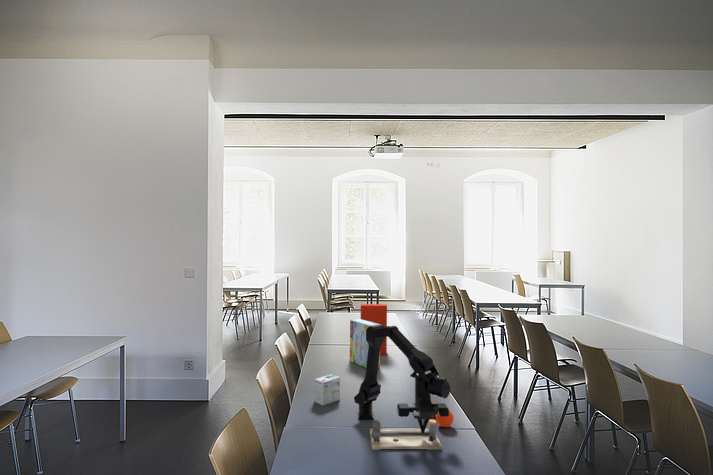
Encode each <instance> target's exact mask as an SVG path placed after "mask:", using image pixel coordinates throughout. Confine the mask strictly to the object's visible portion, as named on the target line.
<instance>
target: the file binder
mask: <svg viewBox="0 0 713 475" xmlns="http://www.w3.org/2000/svg"><path fill="white" fill-rule="evenodd" d="M360 319H362V320H366V321H369V322H373V323H377V324H381V325H383V326H388V305H387V304H381V303H376V304H375V303H361V304H360ZM387 340H388V337H385V341H384V342H383V344H382V345H381V347H380V356H381V355H386V356H387V355H388V354H387V347H388V343H387V342H388V341H387Z"/></svg>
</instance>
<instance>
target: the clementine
mask: <svg viewBox="0 0 713 475" xmlns="http://www.w3.org/2000/svg"><path fill="white" fill-rule="evenodd" d="M435 417H436V419H435V421H436V424H438V425H439V426H440V427H443V428H449V427H450V426H452V425H453V422H454V413H452V411H451V410H449V416H442V417H441V416H440V415H439V412H438V414H436V416H435Z"/></svg>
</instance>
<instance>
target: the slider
mask: <svg viewBox="0 0 713 475" xmlns="http://www.w3.org/2000/svg"><path fill="white" fill-rule="evenodd" d="M427 428H428V436H429V438H432V439H433V440H435V438H436V435H437V420H436V419H430V420H429V421H428V423H427Z"/></svg>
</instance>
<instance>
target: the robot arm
mask: <svg viewBox="0 0 713 475" xmlns="http://www.w3.org/2000/svg"><path fill="white" fill-rule="evenodd" d="M385 337H387V338H389V339H390V340H391V342H392V343H393V344H394V345H395V346H396V347H397V348H398V349H399V350H400V351H401V353H403V355H405V357H406V358H407V360H408V364H409V367H411V369H412V371H413V372H412V373H411V374H410V375H409V377H411V378H414V403H415V405H414V406H409V404H408V403H398V404H397V405H396V412H397V416H398V417H399V418H401V417H402V418H404V417H405V418H407V417H409V416H410V413H412V414H411V415H412V416H413V418H414V419H416V420H417V422H418V425H419V428H420V429H421V433H424V431H425V429H426V428H427V427H428V421H429V420H433V419H432V418H434V417H433V415H436V414H438V412H439V415H440V416H441V417H442V416H449V411H450V409H449V407H448V406H447V404H446V403H444V402H443V403H442V402H441V403H435V404H433V403H432V402H431V399H432V397H431V395H433V396H435V397H439V398H442V399H444V400H445V399H448V397H449V396H450V394H451V386H450V383H449V382H448V379H447V377H441V376H440V373H439V371H438V370H437V368H436V366H435V363H434V361H433V359H432V357H430V356H429V355H428V354H426V353H425V352H424V351H421V350H419V349H418V348H416V347H415V345H414V344H413V343H412V342H410V340H409V339H408V338H407V337H406V336H405V335H404V334H403V333H402V332H401V331H400V330H399V328H398V326H397V325H387V326H383V325H381V324H379V325H374V326H370V327H368V328H367V329H366V341H367V343H368V345H369V348H368V356H367V365H366V368H365V375H364V379H363V380H362V382H361V383H360V386H359V389H358V390H359V391H358V393H357V394H356V395H355V396H354V397H353V400H354V403H355V404H358V411H357V419H358V420H374V419H375V418H374V417H375V416H374V413H373V412H374V411H373V402H375V401H377V398H378V397H379V396H380V394H381V388H382V385H381V384H380V383H379V382H378V380H377V379H378V370H379V368H378V363H379V355H380V347H381V345H382V344H383V342H384V341H385ZM380 356H381V355H380Z"/></svg>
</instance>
